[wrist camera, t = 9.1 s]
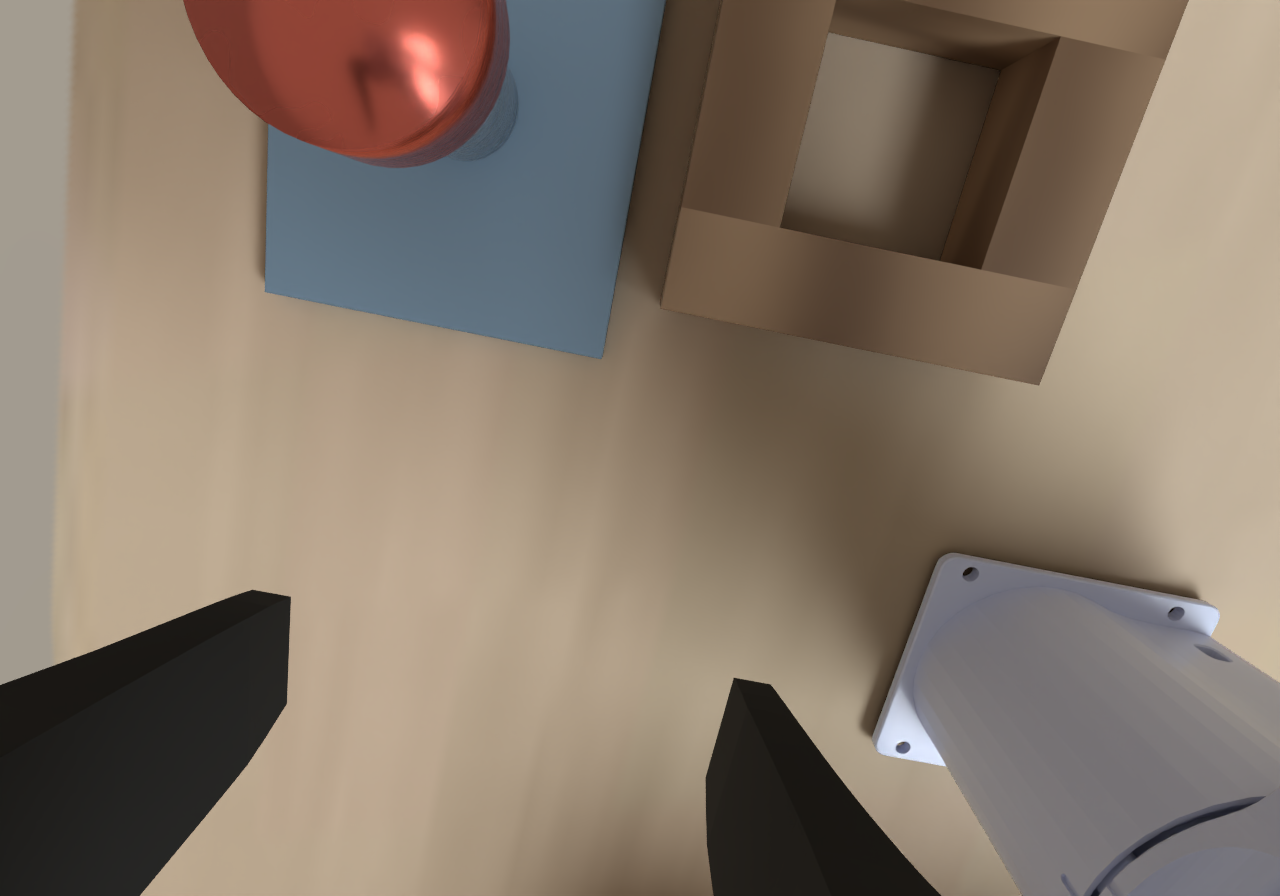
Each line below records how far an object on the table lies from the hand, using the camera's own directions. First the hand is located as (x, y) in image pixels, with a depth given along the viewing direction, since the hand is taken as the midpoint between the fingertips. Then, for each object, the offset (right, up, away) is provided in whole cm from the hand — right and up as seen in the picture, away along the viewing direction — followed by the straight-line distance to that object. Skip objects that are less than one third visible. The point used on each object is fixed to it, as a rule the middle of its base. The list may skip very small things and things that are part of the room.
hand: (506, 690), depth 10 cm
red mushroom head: (-3, +13, +6) cm, 15 cm away
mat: (-3, +13, +7) cm, 15 cm away
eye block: (+9, +12, +7) cm, 16 cm away
